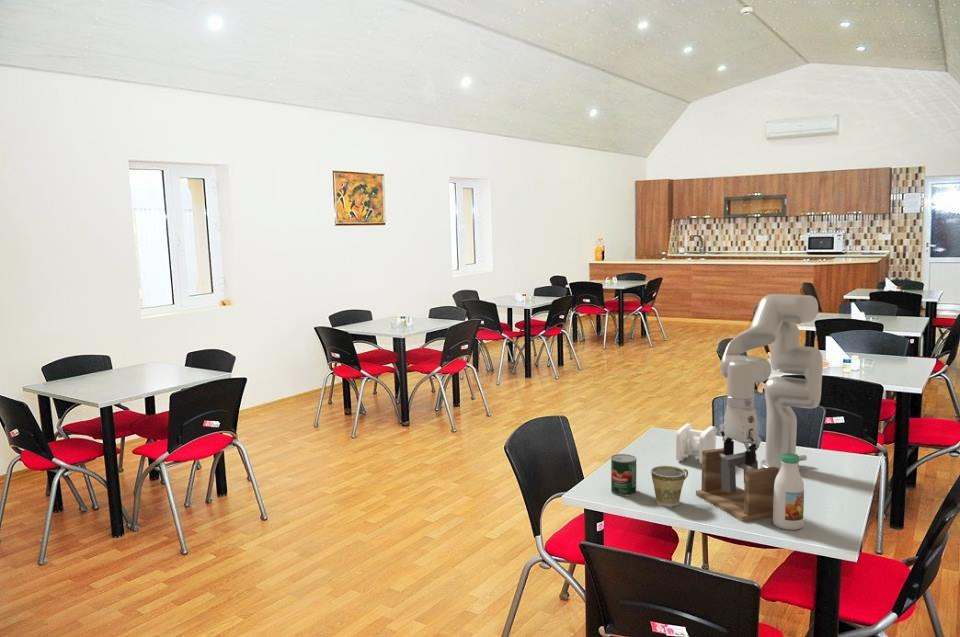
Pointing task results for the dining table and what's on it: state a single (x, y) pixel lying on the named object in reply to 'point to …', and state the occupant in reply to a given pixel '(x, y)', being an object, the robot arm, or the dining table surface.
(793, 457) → the milk bottle
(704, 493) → the wooden rod bracket
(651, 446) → the dining table surface
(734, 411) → the robot arm
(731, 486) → the grey arch block
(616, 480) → the canned tomato
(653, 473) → the ceramic cup
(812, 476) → the dining table surface
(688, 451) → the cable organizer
